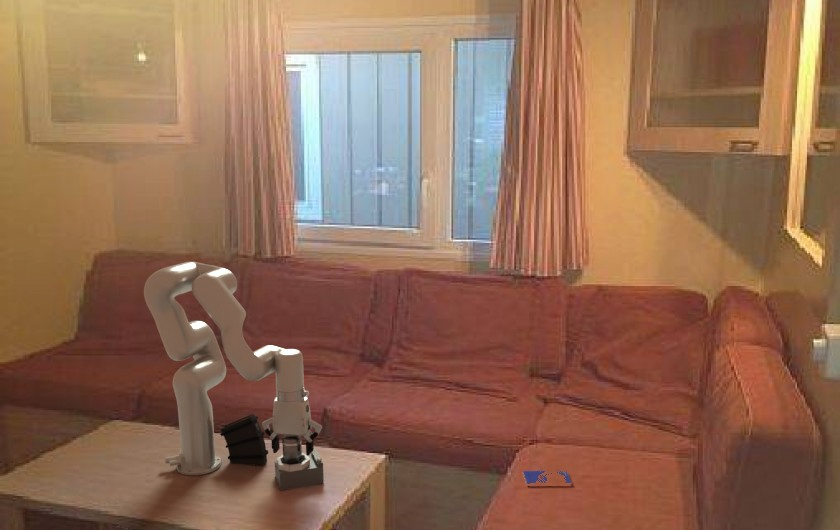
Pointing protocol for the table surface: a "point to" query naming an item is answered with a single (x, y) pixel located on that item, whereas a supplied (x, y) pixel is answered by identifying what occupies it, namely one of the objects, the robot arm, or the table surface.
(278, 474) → the camera body
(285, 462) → the lens
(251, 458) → the black device
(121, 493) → the table surface
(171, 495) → the table surface
